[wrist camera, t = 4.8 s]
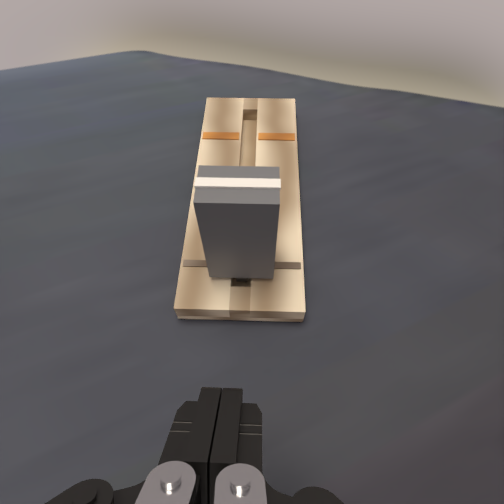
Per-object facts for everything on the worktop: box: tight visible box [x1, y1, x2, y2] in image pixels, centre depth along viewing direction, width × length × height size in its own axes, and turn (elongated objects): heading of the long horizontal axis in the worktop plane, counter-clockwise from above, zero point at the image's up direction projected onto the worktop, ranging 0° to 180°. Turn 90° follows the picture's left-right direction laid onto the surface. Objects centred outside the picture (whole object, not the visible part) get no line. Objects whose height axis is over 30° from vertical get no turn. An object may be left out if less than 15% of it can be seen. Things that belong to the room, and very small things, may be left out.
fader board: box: [174, 98, 306, 322], centre depth 35 cm, size 10×26×2 cm, turn 178°
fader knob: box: [193, 165, 281, 282], centre depth 26 cm, size 5×3×11 cm, turn 88°
